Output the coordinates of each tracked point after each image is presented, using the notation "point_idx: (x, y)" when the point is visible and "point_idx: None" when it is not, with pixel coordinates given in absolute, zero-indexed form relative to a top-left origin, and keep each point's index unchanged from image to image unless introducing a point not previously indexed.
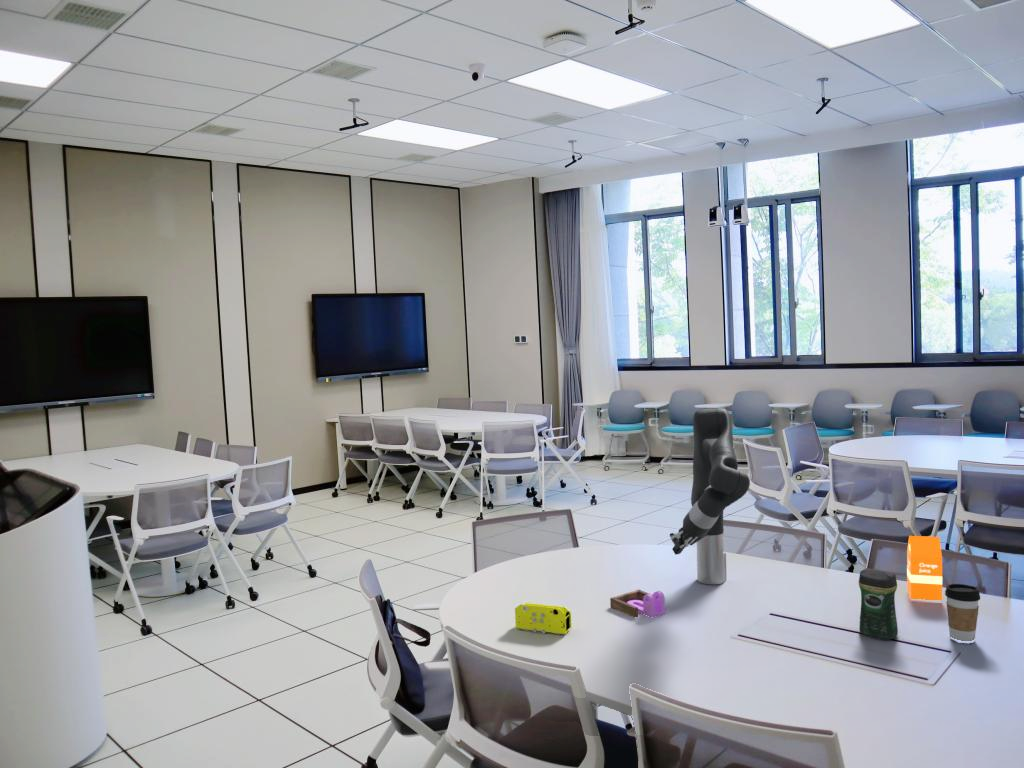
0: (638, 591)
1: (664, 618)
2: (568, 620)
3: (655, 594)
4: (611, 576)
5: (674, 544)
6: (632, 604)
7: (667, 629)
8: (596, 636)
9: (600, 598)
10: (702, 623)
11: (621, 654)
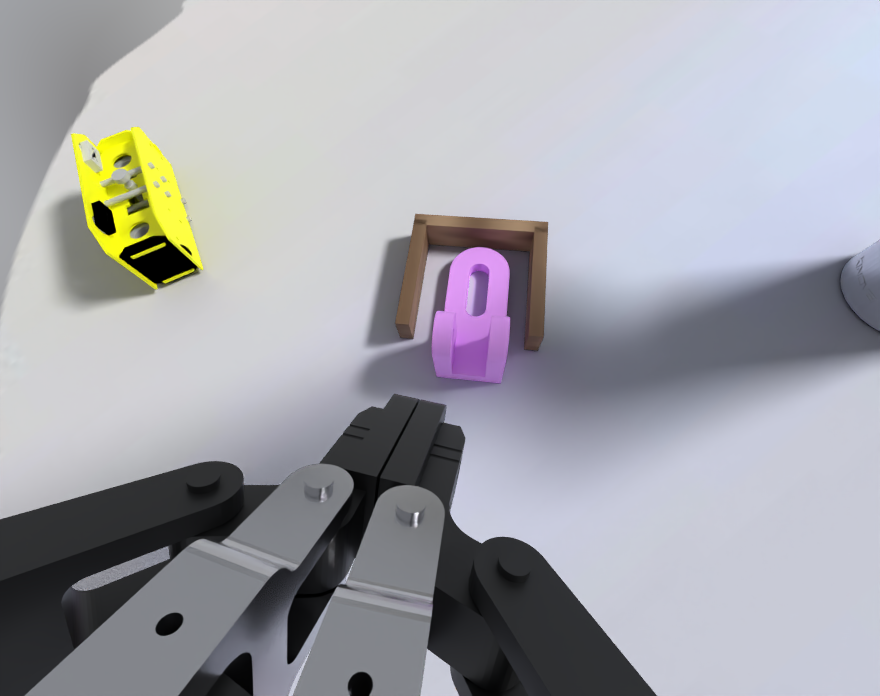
0: (532, 231)
1: (465, 408)
2: (174, 254)
3: (490, 326)
4: (615, 87)
5: (83, 594)
6: (461, 273)
7: None
8: (204, 351)
9: (454, 174)
10: None
11: None
